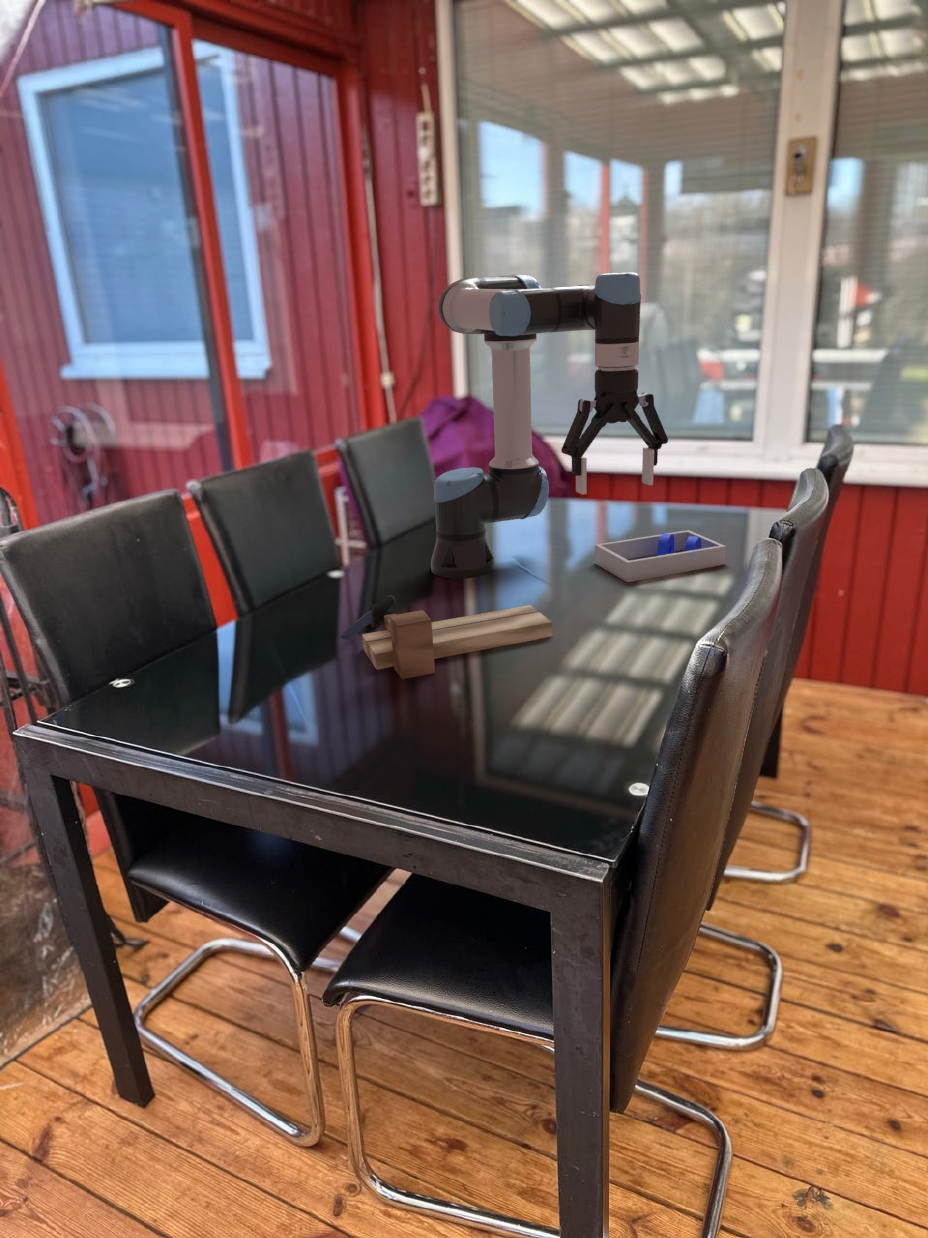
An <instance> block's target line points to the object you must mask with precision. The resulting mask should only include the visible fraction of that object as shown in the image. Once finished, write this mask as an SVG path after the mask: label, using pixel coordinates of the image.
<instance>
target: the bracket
mask: <svg viewBox="0 0 928 1238" xmlns="http://www.w3.org/2000/svg"><path fill="white" fill-rule="evenodd" d="M697 549H701V538H700V537H695V536H689V537H688V539H687V542H686V546H685V550H684V552H685V551H691V550H697ZM673 553H675V552H674V536H673V534H667V533H662V535H661V536H660V539H659V542H658V548H657V555H656V556H661V555H667V554H673Z"/></svg>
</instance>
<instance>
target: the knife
mask: <svg viewBox="0 0 928 1238" xmlns="http://www.w3.org/2000/svg"><path fill="white" fill-rule="evenodd" d="M395 604H396V598H395V595H392V594H389V595H387V596H386V598H384V599H382V600H380V601H378V602H376V603H375V604H373V603H372V602H371V603H369V611H367V612H366V613H364V614H363V615H362V616H361V617H359V618H358V619H357V620H355V621H354V622H353V623H352V624H351V625H349V627H348V628H347V629H346V630H344V631H343V632H342V633H341V634H339V637H340V638H341V639H342V640H344V641H347V640H351V639H352V638H353V637H354V636H356V635H357V634H359V633H360V631H362V630H363V629H364V628H366V627H367V626H368V625H370V626H371V628H375V626H376V624H375V621H376V620H377V619H378V618H380V617H381V616H384V615H385V614H386V613H387V611H389V609H390V608H391V607H393V606H394V605H395Z"/></svg>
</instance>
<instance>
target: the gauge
mask: <svg viewBox="0 0 928 1238" xmlns="http://www.w3.org/2000/svg"><path fill="white" fill-rule="evenodd" d="M383 620H384V621H383V622H384V623H383V624H384V627H385V630H388V631H389V633H390V634H391V637H392V649H393V661H394V666H393V668H394V670H395V672H396V673H397V675H398V676H399V677H400V679H401V678H402V679H401V680H406V679H410V678H415V677H421V676H426V675H431V674H435V673H436V669H435V667H436V666H435V659H434V650H433V635H432V622H433V621H432V619H431V617H430V616H429V615H428V614H427V613H426V612H425V611H424V610H423V609H421V610H415V611H409V612H404V613H399V614H396V613H392V614H391V613H390V614H383ZM405 678H406V679H405Z"/></svg>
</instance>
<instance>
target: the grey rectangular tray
mask: <svg viewBox="0 0 928 1238" xmlns="http://www.w3.org/2000/svg"><path fill="white" fill-rule="evenodd" d="M662 534H663V533H662ZM662 534H661V533H660V534H655V535H648V536H642V537H636V538H631V539H629V538H628V539H623V540H618V541H612V542H611V541H610V542H604V543H599V544H594V564H596V565H597V566H598V567H601V569H604V570H606V571H607V572H609V573H610V574H613V575H614V576H616V577H617V578H619V579H621V580H622V581H623V582H626V583H630V582H631V583H632V582H635V581H636V582H637V581H642V580H643V581H644V580H648V579H649V580H650V579H653V578H659V577H664V576H665V575H666V576H670V574H671V575H675V573H676V574H682V573H685V572H690V571H691V572H692V571H696V570H702V569H707V568H713V567H717V566H722V565H725V564H726V555H727V552H726V551H727V550H726V549H727V546H726V545H725V544H722V543H720V542H717V541H715V540H712V539H710V538H708V537H706V536H703V535H701V534H698V533H696V532H694V531H691V530H689V529H686V530H682V531H681V530H680V531H673V532H668V533H667V532H666V534H673V536H674V553H673V554H667V555H661V556H657V548H658V542H659V539H660V536H661V535H662ZM689 536H695V537H700V538H701V549H697V550H691V551H685V546H686V542H687V539H688V537H689ZM681 550H682V551H681ZM666 576H665V577H666Z"/></svg>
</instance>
